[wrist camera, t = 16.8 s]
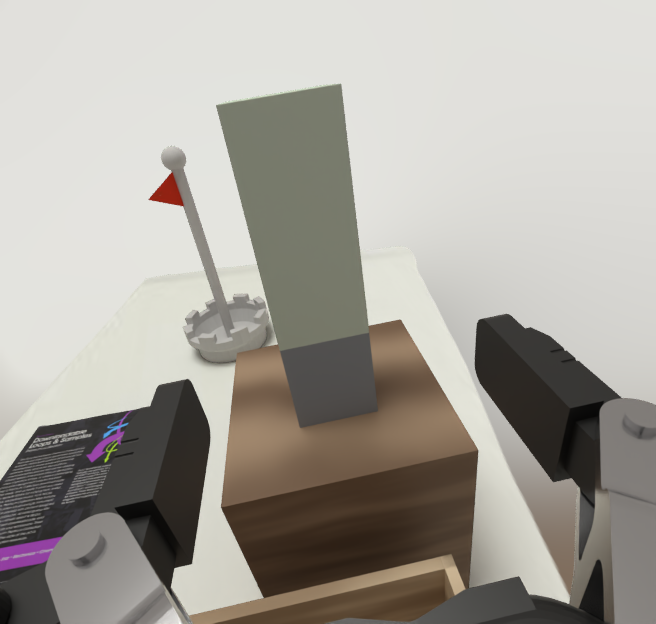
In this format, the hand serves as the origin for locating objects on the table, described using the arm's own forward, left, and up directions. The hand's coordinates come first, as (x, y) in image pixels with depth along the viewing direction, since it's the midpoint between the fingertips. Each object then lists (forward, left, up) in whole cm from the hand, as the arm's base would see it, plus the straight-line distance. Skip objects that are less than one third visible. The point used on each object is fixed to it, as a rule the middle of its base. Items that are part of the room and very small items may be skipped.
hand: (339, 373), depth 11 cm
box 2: (+8, +8, -11) cm, 16 cm away
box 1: (-5, +37, -28) cm, 46 cm away
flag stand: (+23, +42, -27) cm, 56 cm away
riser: (+8, +8, -27) cm, 30 cm away
